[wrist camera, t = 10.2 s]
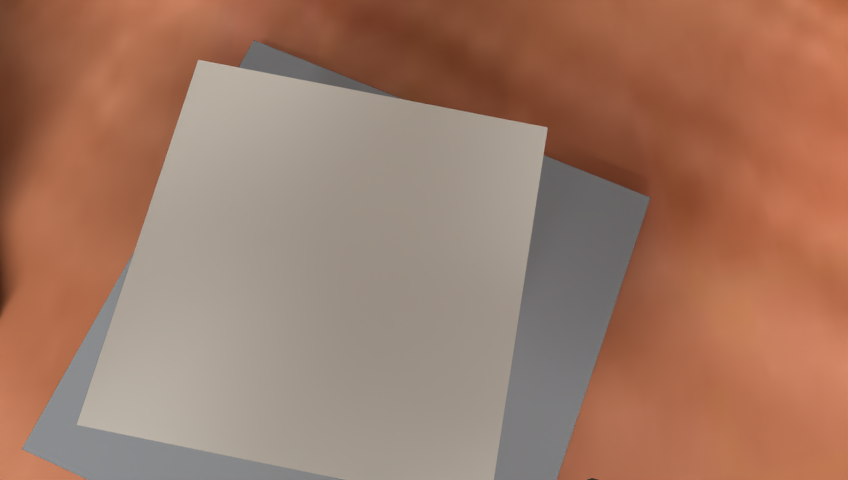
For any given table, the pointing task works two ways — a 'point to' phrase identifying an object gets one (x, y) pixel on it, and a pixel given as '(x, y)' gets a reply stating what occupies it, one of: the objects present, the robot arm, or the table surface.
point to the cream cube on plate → (325, 282)
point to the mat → (532, 357)
